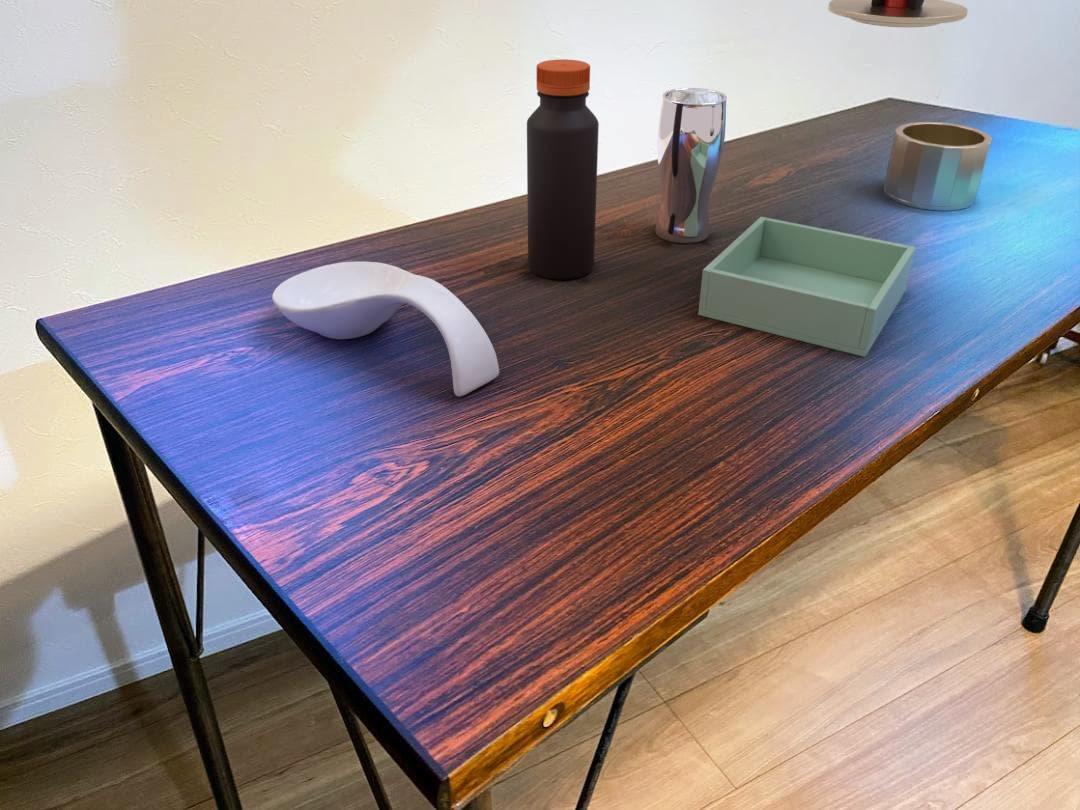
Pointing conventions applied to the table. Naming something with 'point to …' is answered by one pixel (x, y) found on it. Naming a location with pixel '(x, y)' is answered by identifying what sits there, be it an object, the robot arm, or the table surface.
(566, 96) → the bottle
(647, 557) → the table surface
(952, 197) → the pot
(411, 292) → the spoon rest
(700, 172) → the silver metal tumbler
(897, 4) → the lid
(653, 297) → the table surface
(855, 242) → the tray
